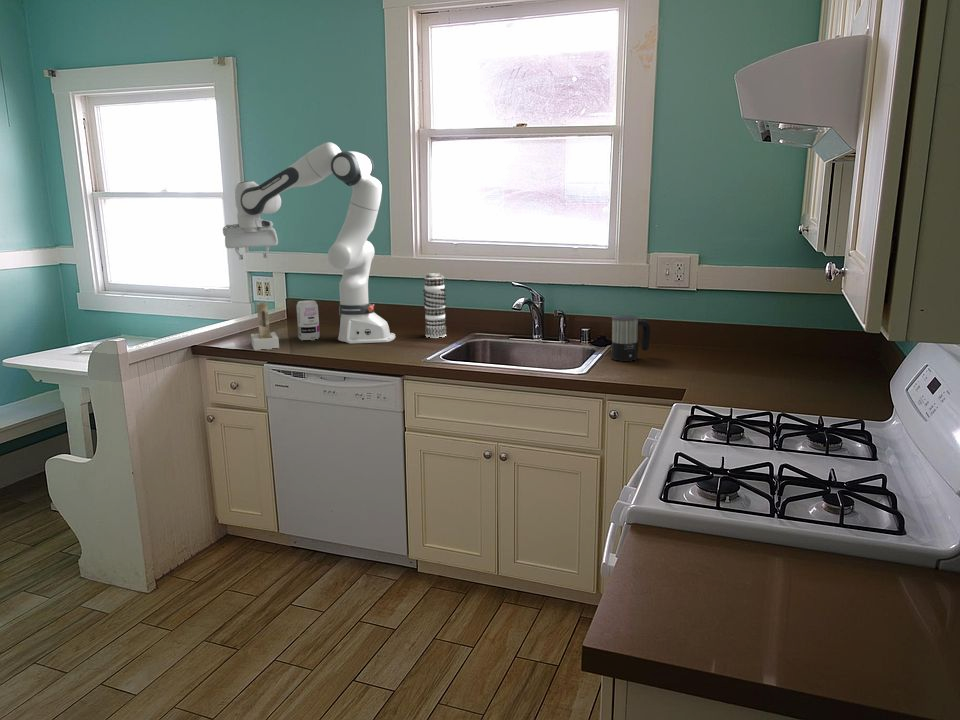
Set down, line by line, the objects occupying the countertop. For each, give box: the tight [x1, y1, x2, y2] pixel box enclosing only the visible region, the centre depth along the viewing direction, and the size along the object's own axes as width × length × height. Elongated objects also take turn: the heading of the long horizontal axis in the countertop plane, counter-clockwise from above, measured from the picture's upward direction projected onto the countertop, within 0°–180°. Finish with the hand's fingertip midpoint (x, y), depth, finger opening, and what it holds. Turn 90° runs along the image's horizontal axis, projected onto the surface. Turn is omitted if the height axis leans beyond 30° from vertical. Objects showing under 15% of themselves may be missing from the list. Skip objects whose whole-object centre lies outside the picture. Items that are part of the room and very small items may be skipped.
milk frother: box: [610, 314, 651, 362], centre depth 262 cm, size 14×16×15 cm
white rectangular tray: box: [250, 331, 280, 351], centre depth 287 cm, size 12×9×4 cm
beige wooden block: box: [256, 301, 271, 339], centre depth 285 cm, size 4×5×15 cm
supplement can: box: [295, 299, 321, 341], centre depth 298 cm, size 8×8×15 cm
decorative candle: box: [422, 272, 447, 339], centre depth 300 cm, size 9×9×25 cm
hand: (253, 258), depth 301 cm, fingers open, 8 cm apart
